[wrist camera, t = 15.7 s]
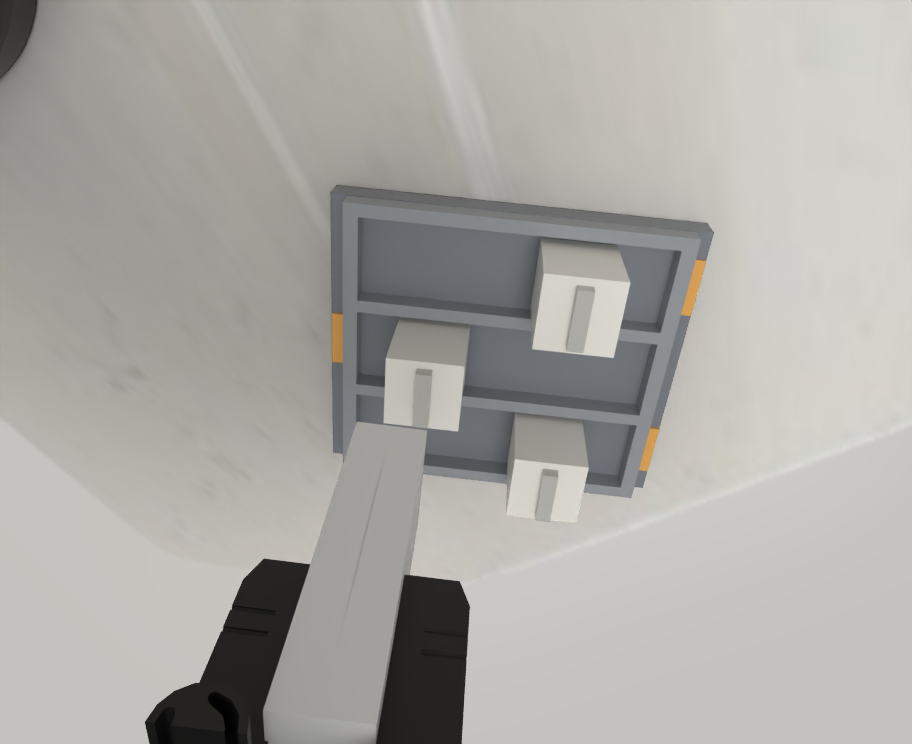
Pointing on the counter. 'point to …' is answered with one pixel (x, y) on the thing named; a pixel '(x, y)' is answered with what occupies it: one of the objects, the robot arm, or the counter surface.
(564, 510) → the tab
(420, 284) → the switch bank
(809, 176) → the counter surface
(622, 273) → the tab
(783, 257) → the counter surface
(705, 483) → the counter surface
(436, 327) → the tab
